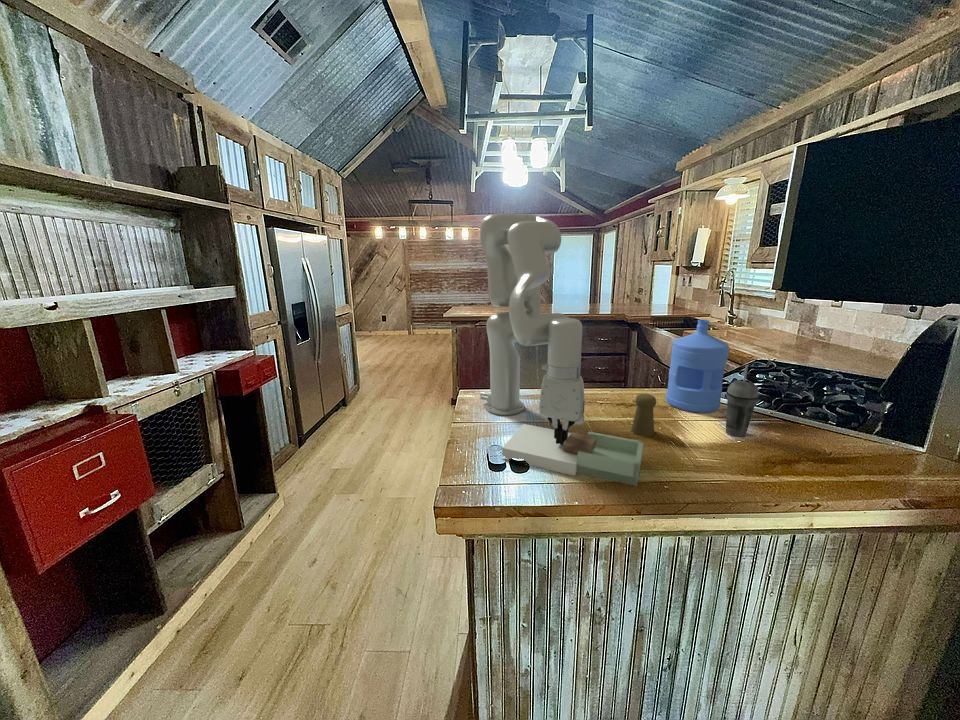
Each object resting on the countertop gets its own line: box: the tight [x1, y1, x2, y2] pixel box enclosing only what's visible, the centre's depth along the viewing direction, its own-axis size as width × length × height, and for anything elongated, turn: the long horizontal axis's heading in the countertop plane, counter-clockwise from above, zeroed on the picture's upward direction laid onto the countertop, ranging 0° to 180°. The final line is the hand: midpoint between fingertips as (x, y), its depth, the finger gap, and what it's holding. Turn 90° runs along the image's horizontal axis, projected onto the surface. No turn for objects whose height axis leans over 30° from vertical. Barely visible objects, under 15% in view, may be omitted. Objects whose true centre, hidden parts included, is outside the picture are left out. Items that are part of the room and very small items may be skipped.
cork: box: [630, 393, 657, 438], centre depth 105 cm, size 6×6×11 cm
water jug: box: [665, 319, 730, 414], centre depth 121 cm, size 16×16×28 cm
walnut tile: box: [564, 431, 596, 455], centre depth 91 cm, size 6×6×2 cm
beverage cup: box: [725, 364, 760, 439], centre depth 101 cm, size 7×7×20 cm
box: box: [576, 431, 645, 487], centre depth 89 cm, size 13×12×5 cm
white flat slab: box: [501, 423, 578, 476], centre depth 96 cm, size 18×15×3 cm
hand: (560, 441), depth 94 cm, fingers closed
